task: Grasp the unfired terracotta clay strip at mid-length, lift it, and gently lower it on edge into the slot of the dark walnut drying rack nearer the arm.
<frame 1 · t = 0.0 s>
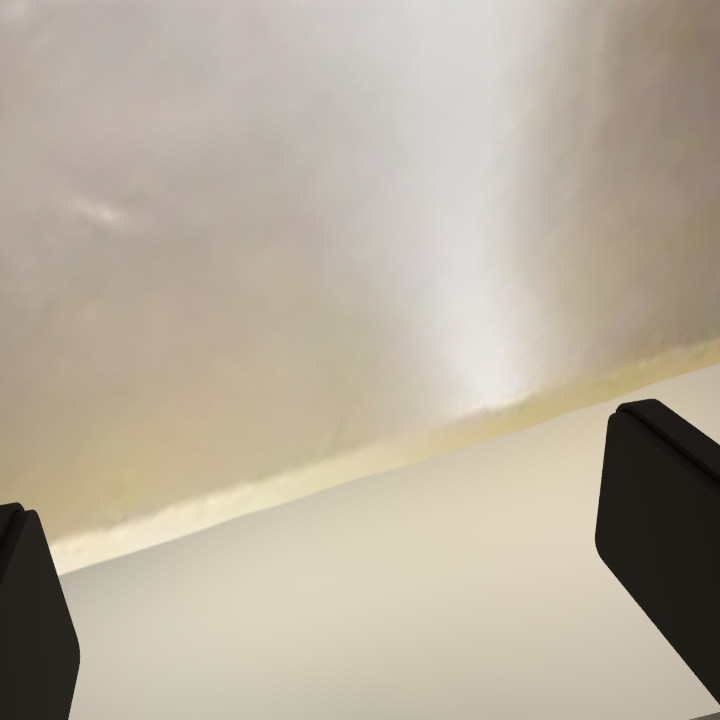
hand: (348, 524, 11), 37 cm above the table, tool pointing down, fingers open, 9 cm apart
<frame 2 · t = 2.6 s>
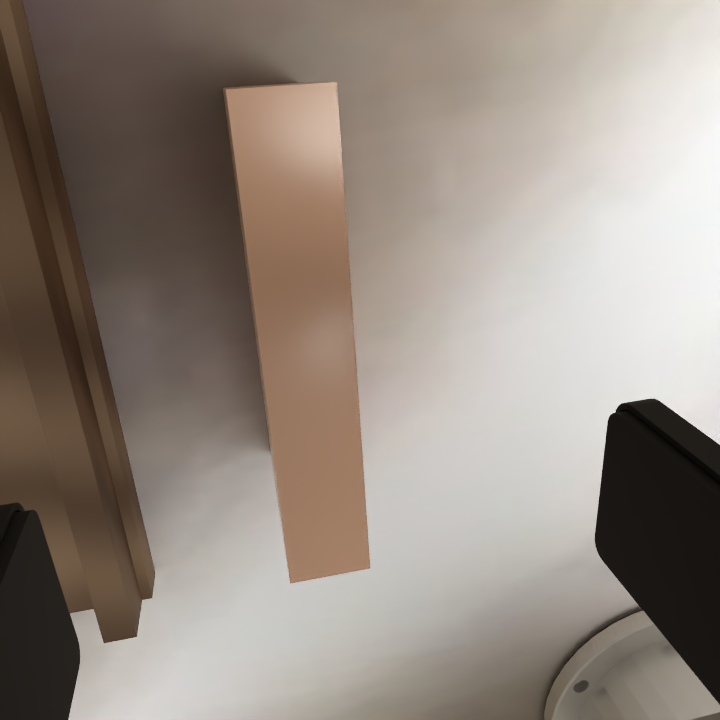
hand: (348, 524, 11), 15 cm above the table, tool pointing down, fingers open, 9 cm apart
clay strip: (282, 286, 25), on the table
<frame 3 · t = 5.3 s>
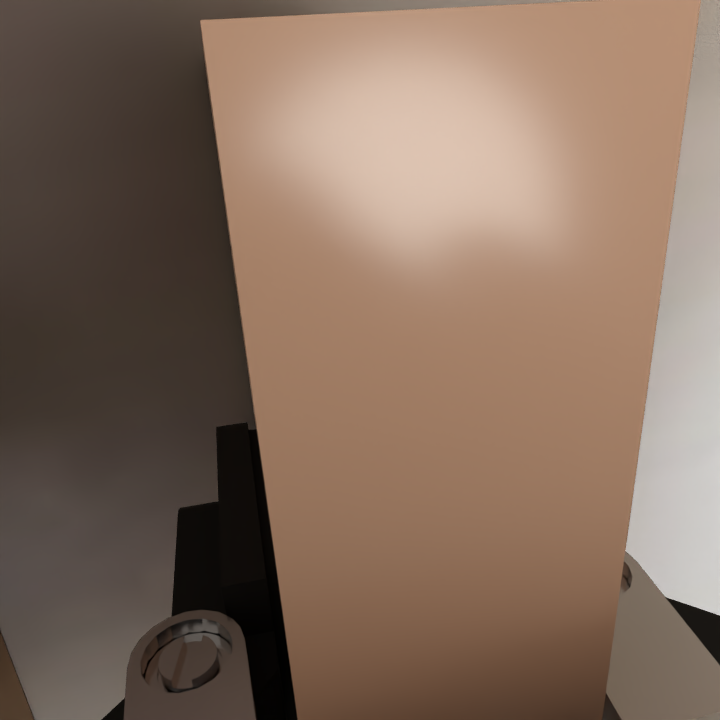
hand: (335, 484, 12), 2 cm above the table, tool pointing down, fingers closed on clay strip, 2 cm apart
clay strip: (321, 437, 13), on the table, touching gripper
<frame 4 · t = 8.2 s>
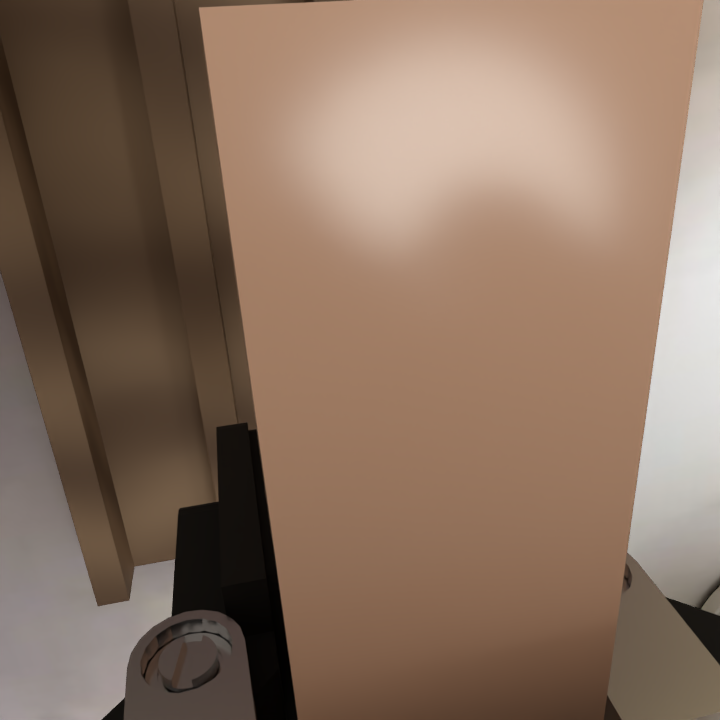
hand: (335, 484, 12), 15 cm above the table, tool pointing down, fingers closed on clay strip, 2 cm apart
drying rack: (200, 271, 25), on the table
clay strip: (321, 436, 13), point 14 cm above the table, touching gripper
when the fingers open (5 cm above the table, at t = 11.4 s): clay strip drops 1 cm, resting on drying rack.
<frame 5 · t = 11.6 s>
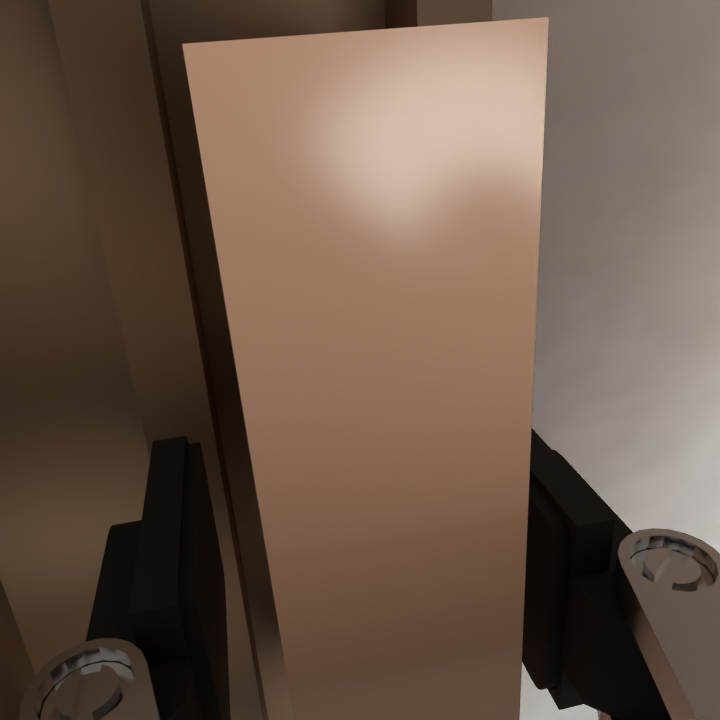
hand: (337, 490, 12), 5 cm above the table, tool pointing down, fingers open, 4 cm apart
drying rack: (191, 393, 15), on the table
clay strip: (317, 404, 14), point 2 cm above the table, touching drying rack
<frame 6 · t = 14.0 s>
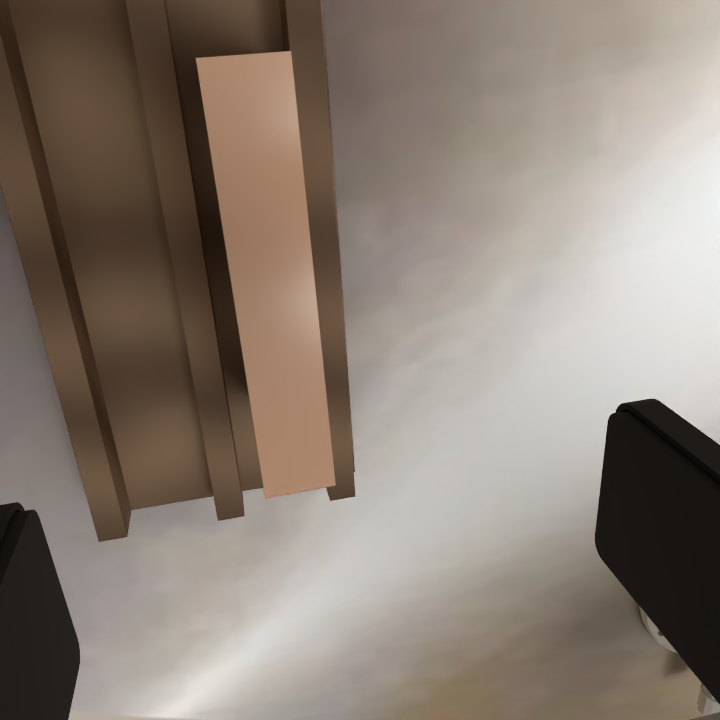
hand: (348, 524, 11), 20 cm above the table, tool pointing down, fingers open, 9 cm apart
drying rack: (190, 242, 28), on the table
clay strip: (257, 243, 27), point 1 cm above the table, touching drying rack
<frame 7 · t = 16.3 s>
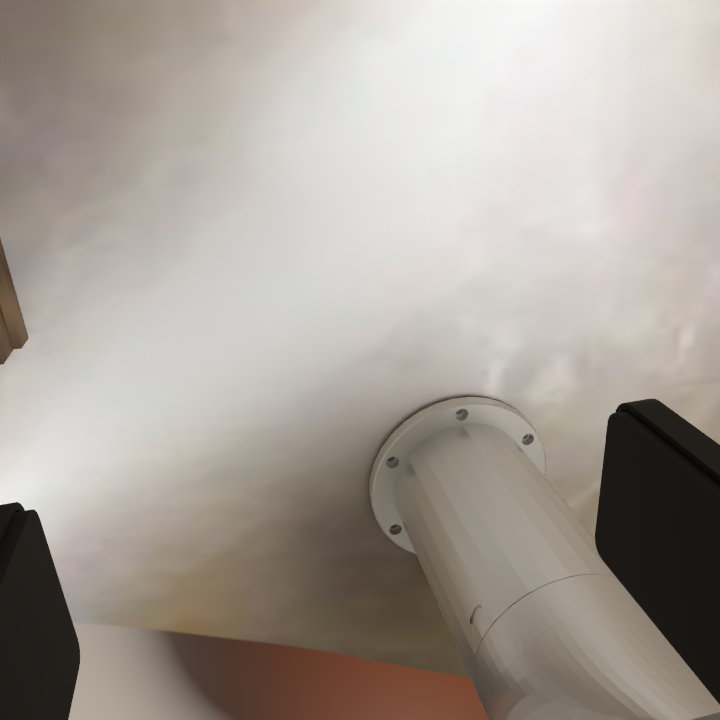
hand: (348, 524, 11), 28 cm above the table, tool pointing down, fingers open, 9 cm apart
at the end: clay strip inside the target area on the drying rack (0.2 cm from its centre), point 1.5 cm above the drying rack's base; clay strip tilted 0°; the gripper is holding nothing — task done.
